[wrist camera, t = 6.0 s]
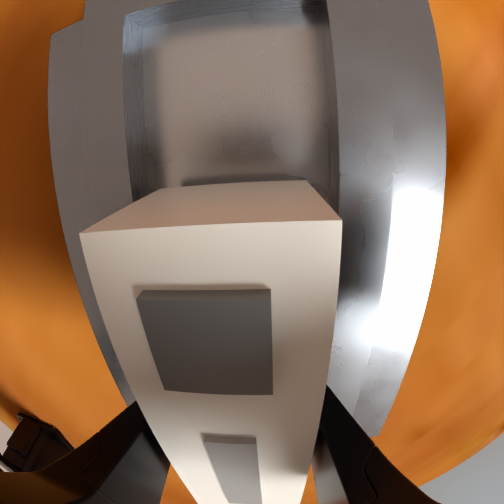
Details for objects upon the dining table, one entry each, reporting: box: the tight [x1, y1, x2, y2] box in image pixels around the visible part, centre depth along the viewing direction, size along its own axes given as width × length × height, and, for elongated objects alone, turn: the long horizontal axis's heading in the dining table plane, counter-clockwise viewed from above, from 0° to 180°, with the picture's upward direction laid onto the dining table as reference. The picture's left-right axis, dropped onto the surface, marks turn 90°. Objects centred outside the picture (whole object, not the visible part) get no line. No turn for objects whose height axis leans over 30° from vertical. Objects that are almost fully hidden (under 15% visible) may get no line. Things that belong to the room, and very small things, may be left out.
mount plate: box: [48, 0, 446, 437], centre depth 10 cm, size 21×14×3 cm, turn 3°
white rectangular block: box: [79, 180, 342, 504], centre depth 8 cm, size 12×4×4 cm, turn 3°
